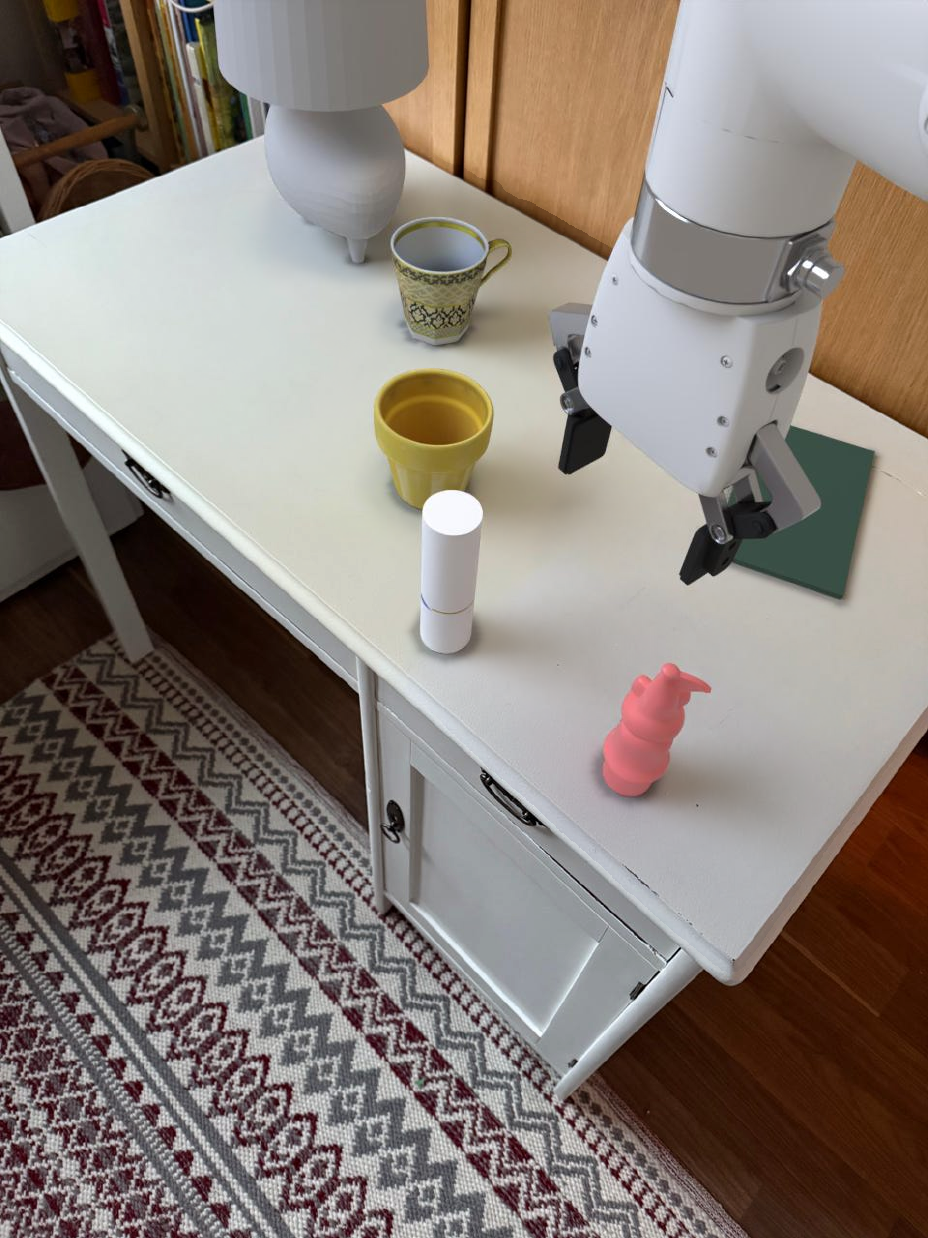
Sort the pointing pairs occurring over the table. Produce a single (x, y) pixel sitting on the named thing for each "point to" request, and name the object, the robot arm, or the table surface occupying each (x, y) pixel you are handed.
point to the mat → (816, 517)
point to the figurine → (648, 729)
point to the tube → (449, 569)
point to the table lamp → (329, 100)
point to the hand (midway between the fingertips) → (639, 514)
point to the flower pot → (432, 431)
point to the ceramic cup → (441, 275)
